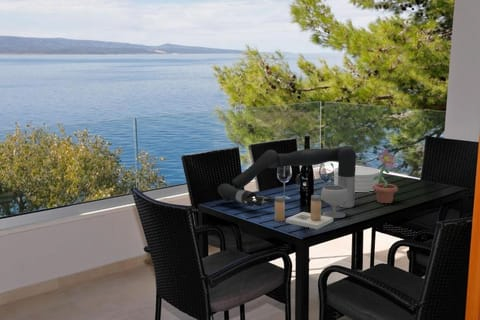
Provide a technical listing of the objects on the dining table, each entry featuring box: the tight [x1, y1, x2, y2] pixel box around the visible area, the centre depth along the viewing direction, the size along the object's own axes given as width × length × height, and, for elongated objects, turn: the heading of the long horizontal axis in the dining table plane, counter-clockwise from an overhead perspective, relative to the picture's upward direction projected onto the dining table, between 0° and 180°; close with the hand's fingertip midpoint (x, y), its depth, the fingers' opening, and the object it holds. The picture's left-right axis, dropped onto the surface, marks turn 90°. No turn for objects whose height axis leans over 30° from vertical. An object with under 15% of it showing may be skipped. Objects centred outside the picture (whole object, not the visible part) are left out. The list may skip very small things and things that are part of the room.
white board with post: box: [285, 194, 334, 230], centre depth 266 cm, size 16×18×14 cm
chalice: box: [320, 184, 348, 219], centre depth 277 cm, size 14×14×15 cm
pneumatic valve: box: [295, 173, 316, 186], centre depth 329 cm, size 6×12×12 cm, turn 123°
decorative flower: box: [373, 149, 399, 205], centre depth 302 cm, size 15×14×30 cm
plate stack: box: [333, 165, 380, 193], centre depth 340 cm, size 28×28×12 cm
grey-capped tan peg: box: [274, 195, 286, 222], centre depth 270 cm, size 5×5×12 cm
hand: (267, 202), depth 277 cm, fingers open, 8 cm apart
